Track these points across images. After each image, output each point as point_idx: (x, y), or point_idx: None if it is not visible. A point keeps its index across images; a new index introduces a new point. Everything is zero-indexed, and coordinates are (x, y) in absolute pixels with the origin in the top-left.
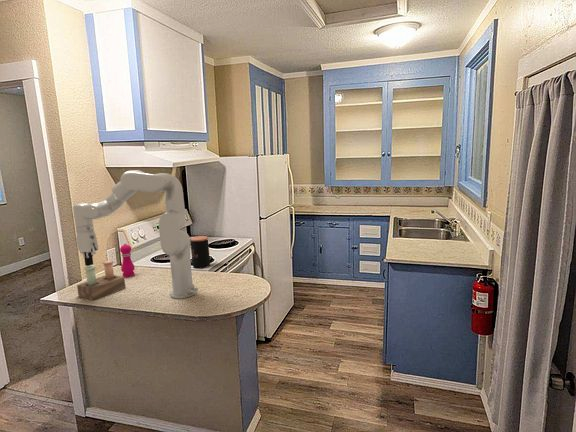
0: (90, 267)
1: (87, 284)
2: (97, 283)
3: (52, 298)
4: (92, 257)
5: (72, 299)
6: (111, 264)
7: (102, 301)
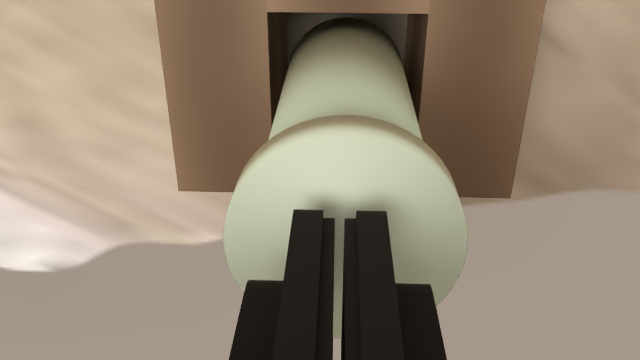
0: (421, 278)
1: (271, 109)
2: (364, 10)
3: (20, 242)
4: (401, 353)
5: (232, 193)
6: None
7: (606, 119)
